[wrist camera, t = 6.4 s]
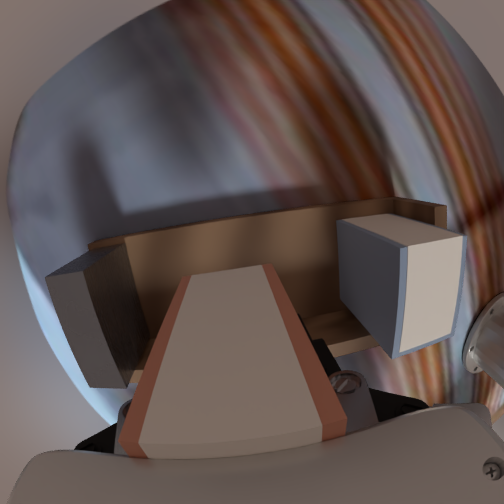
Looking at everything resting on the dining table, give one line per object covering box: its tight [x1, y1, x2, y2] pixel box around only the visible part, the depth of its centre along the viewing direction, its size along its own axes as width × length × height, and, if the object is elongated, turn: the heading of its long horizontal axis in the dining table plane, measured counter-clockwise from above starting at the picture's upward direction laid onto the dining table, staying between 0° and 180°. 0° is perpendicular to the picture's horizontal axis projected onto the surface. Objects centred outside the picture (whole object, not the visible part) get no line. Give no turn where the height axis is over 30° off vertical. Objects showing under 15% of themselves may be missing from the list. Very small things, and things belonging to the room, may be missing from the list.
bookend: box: [45, 243, 151, 389], centre depth 18 cm, size 3×8×7 cm, turn 8°
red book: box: [118, 263, 347, 459], centre depth 9 cm, size 4×6×9 cm, turn 8°
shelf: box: [88, 197, 447, 383], centre depth 20 cm, size 26×10×7 cm, turn 98°
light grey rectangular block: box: [336, 214, 467, 359], centre depth 17 cm, size 5×6×9 cm
